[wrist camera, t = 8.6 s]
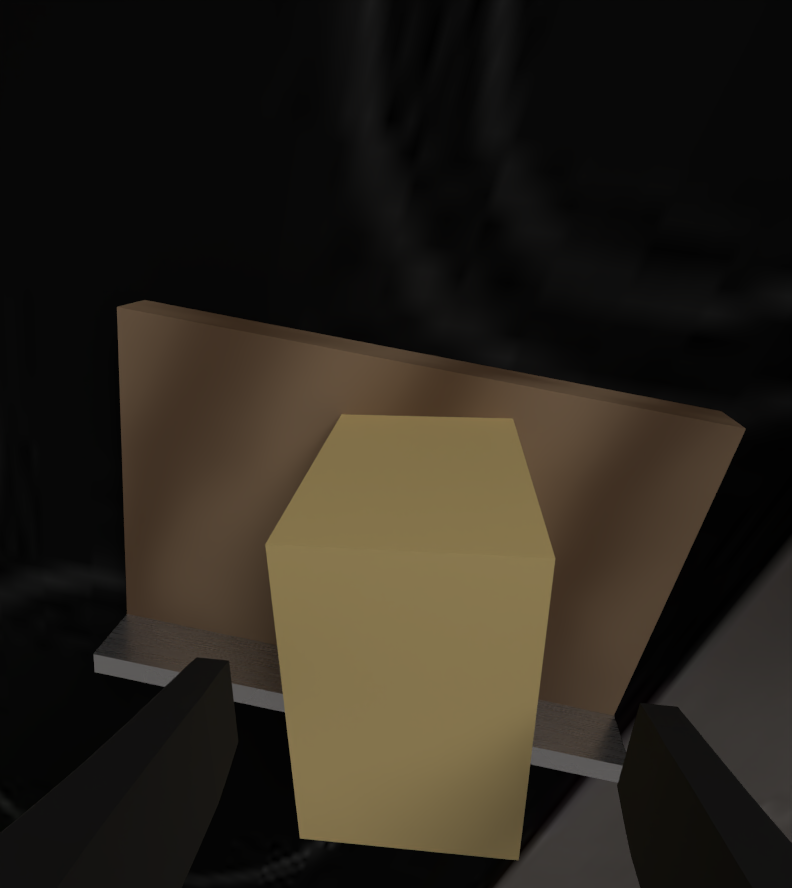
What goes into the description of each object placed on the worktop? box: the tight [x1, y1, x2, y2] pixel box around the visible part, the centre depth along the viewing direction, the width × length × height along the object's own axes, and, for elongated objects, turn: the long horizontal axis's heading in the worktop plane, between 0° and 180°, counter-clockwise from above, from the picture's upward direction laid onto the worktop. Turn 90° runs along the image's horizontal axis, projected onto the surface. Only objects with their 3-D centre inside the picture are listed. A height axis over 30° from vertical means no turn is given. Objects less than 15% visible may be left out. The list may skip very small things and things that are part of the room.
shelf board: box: [117, 300, 746, 715], centre depth 18 cm, size 18×12×2 cm, turn 80°
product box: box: [265, 414, 555, 860], centre depth 14 cm, size 8×5×7 cm, turn 0°
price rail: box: [94, 614, 626, 783], centre depth 19 cm, size 18×1×2 cm, turn 80°
